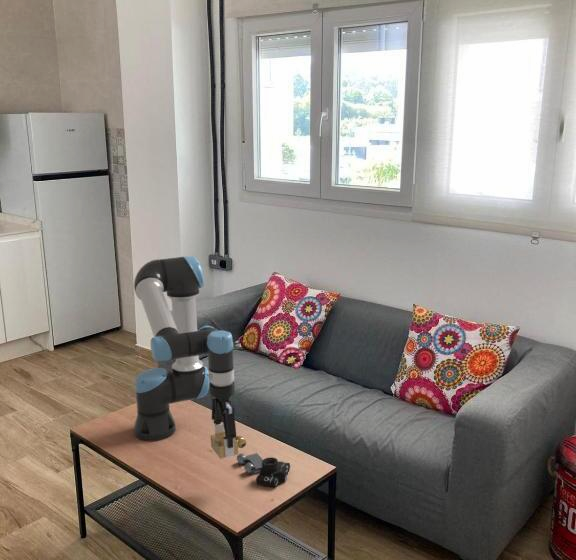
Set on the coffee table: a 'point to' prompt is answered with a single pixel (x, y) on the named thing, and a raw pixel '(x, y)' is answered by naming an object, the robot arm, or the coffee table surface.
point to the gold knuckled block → (219, 444)
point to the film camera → (273, 472)
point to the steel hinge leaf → (250, 463)
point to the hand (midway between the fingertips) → (224, 449)
